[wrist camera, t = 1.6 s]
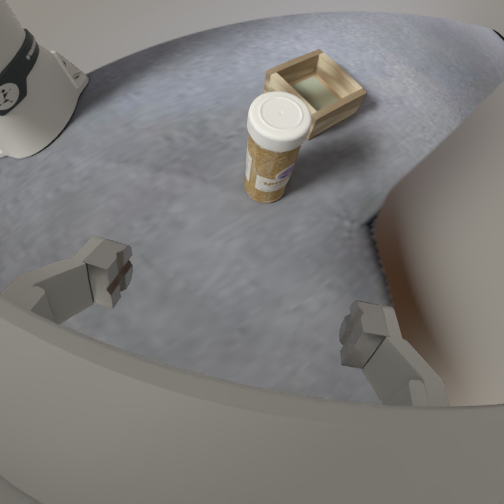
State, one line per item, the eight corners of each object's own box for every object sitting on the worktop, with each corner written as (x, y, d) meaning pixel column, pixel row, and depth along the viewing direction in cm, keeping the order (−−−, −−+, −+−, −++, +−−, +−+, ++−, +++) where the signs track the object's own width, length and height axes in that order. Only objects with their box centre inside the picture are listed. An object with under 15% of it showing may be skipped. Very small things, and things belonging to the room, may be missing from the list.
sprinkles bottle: (270, 212, 32) (291, 151, 19) (235, 188, 33) (234, 116, 19) (293, 181, 33) (324, 110, 20) (259, 158, 33) (272, 79, 20)
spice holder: (263, 93, 35) (266, 70, 31) (312, 70, 36) (319, 49, 32) (307, 140, 34) (316, 119, 30) (355, 112, 35) (367, 92, 31)
